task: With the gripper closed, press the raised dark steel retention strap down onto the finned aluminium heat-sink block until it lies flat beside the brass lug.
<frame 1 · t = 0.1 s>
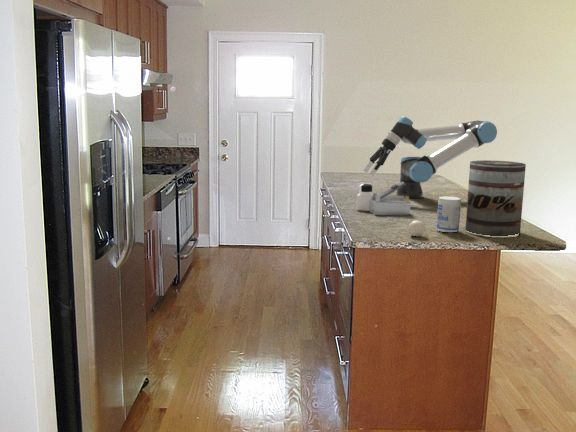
hand: (367, 172, 357), 15 cm above the counter, tool tilted 35°, fingers open, 13 cm apart
barrel: (492, 232, 279), on the counter
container: (364, 209, 331), on the counter
supplement tub: (447, 231, 280), on the counter
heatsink: (389, 212, 322), on the counter
baseball: (416, 237, 269), on the counter
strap: (389, 190, 320), point 11 cm above the counter, hinge at 30.0°
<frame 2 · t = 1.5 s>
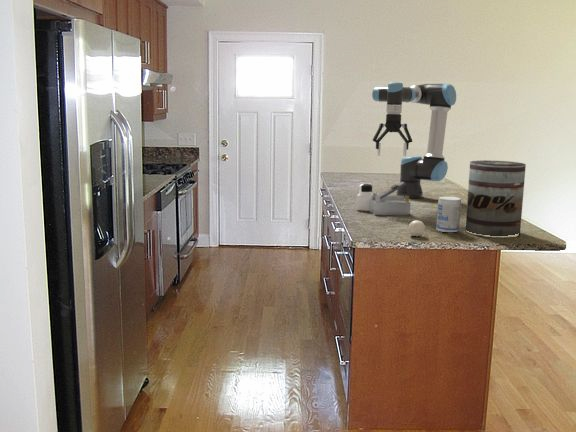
hand: (391, 156, 330), 27 cm above the counter, tool pointing down, fingers open, 13 cm apart
nothing on the counter moved.
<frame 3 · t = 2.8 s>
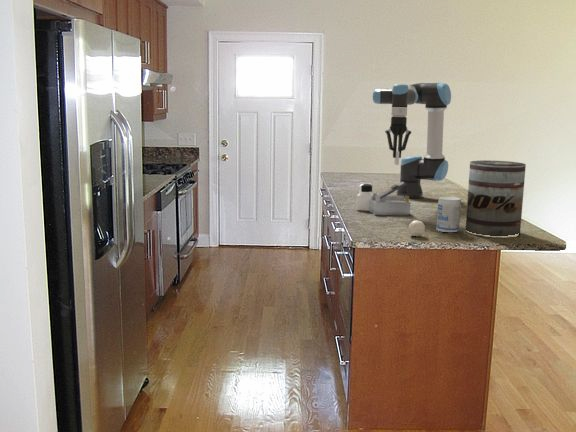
hand: (396, 164, 321), 24 cm above the counter, tool pointing down, fingers closed
nothing on the counter moved.
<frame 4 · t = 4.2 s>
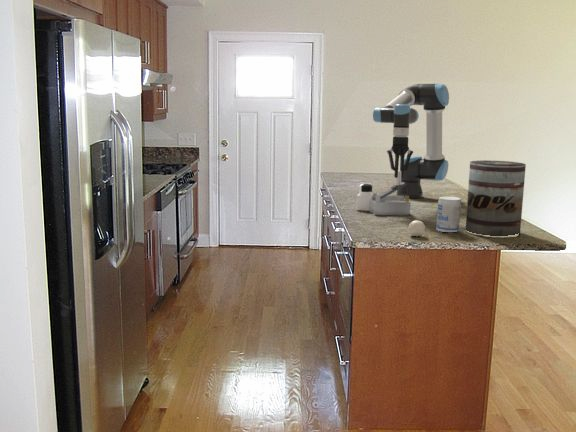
hand: (398, 184, 320), 14 cm above the counter, tool pointing down, fingers closed
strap: (389, 190, 320), point 11 cm above the counter, hinge at 29.3°, touching gripper
everything else where it was.
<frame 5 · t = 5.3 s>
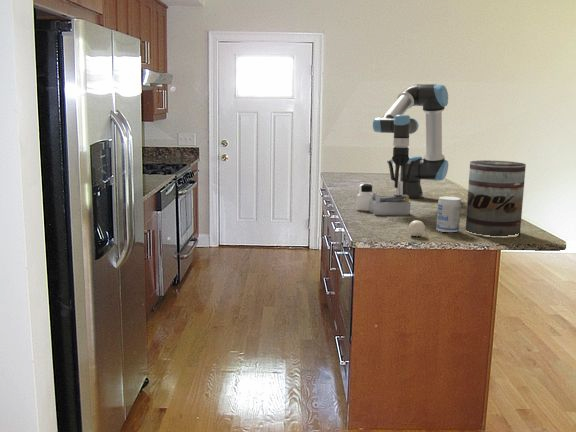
hand: (399, 194, 321), 9 cm above the counter, tool pointing down, fingers closed on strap
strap: (391, 197, 321), point 8 cm above the counter, hinge at 4.9°, touching gripper
everything else where it was.
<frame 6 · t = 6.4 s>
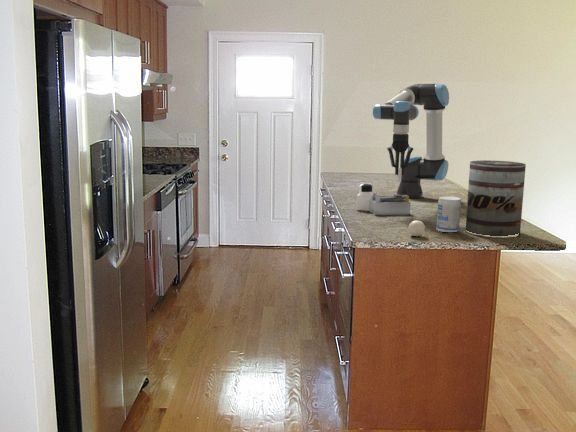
hand: (398, 181, 320), 16 cm above the counter, tool pointing down, fingers closed
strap: (391, 197, 321), point 8 cm above the counter, hinge at 4.2°
everything else where it was.
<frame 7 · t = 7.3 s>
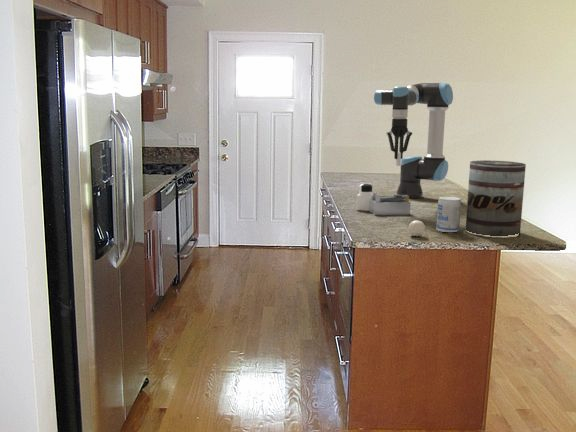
hand: (398, 165, 326), 23 cm above the counter, tool pointing down, fingers closed
nothing on the counter moved.
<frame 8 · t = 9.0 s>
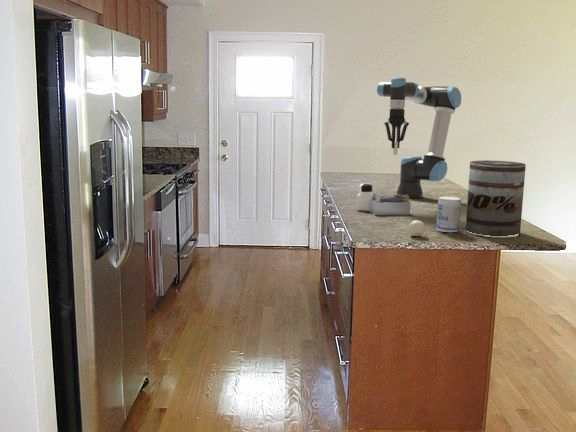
hand: (395, 154, 335), 27 cm above the counter, tool pointing down, fingers closed
nothing on the counter moved.
at the end: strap at +4° (first picture: +30°); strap touching nothing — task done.
